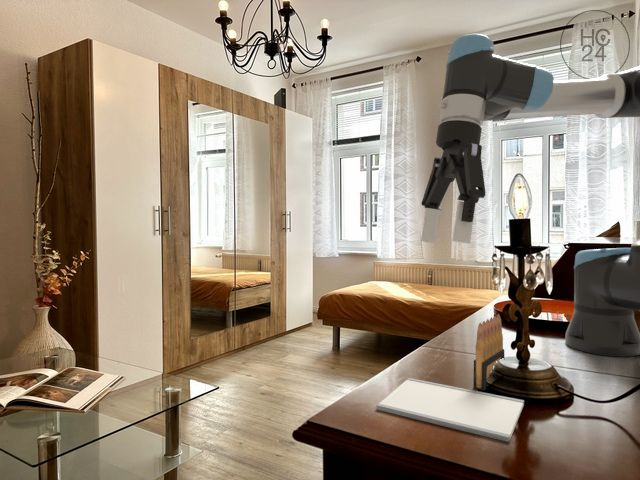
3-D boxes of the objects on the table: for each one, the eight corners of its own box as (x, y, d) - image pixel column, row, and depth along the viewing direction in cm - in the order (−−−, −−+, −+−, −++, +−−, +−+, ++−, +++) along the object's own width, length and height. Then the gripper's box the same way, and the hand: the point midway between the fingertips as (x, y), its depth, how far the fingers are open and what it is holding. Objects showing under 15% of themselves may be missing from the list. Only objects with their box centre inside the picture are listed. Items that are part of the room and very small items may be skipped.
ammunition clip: (483, 390, 77) (483, 324, 76) (473, 388, 78) (473, 322, 78) (504, 374, 85) (505, 313, 84) (495, 372, 86) (495, 312, 85)
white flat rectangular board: (524, 404, 71) (524, 400, 71) (509, 442, 59) (509, 437, 59) (408, 381, 82) (408, 377, 82) (376, 409, 70) (376, 405, 70)
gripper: (415, 138, 89) (400, 239, 89) (475, 98, 64) (455, 238, 64) (449, 144, 90) (434, 244, 90) (521, 108, 66) (501, 246, 65)
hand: (443, 242), depth 77 cm, fingers open, 13 cm apart
